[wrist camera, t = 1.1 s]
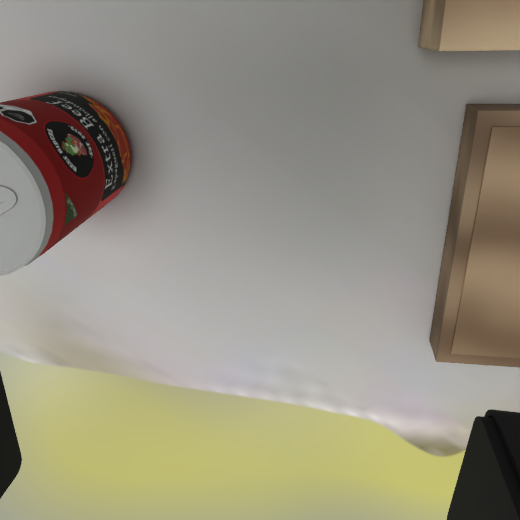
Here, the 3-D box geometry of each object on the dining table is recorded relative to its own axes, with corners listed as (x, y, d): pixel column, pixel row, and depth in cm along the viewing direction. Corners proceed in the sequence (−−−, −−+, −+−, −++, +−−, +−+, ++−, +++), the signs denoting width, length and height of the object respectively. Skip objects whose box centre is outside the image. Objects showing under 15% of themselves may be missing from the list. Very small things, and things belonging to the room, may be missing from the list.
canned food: (157, 177, 32) (78, 242, 22) (64, 223, 35) (-44, 301, 25) (91, 65, 30) (-30, 83, 20) (-4, 123, 32) (-153, 165, 22)
